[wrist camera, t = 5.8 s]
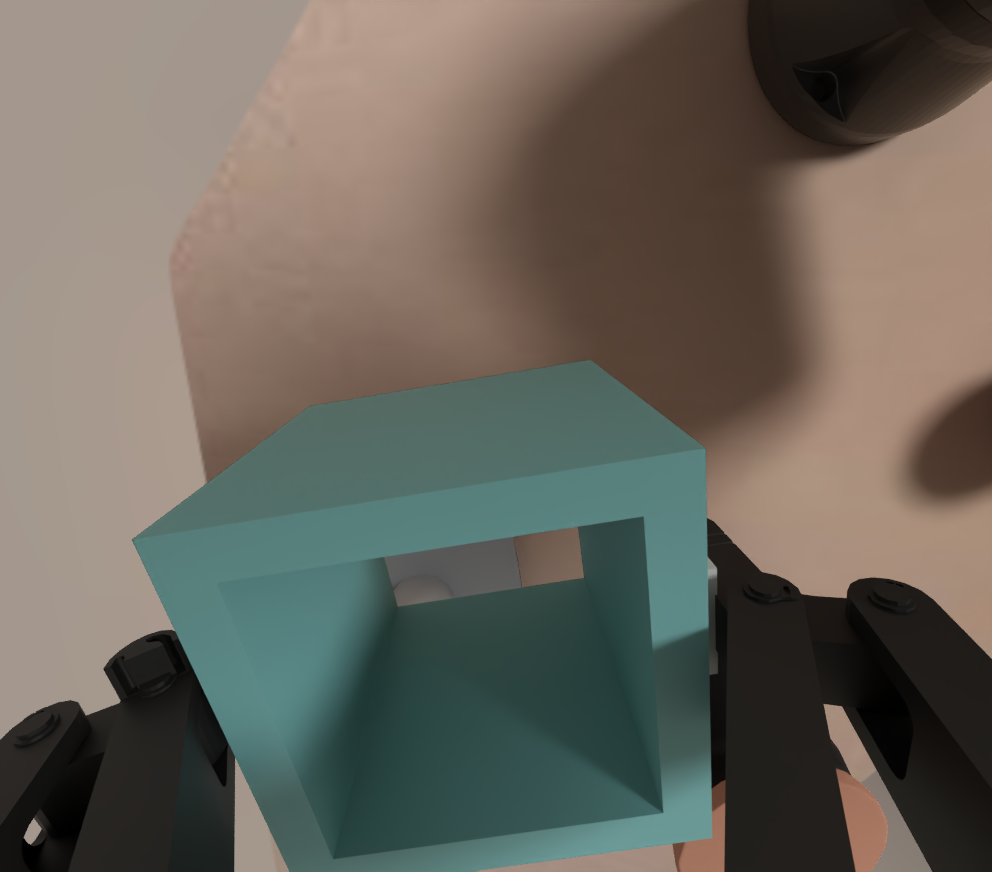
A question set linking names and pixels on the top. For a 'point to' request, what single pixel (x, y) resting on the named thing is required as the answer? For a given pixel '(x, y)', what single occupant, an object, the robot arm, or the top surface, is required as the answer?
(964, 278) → the top surface
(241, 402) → the top surface
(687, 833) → the teal storage bin
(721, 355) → the top surface
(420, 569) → the grey square base plate
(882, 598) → the robot arm
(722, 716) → the coffee jar
